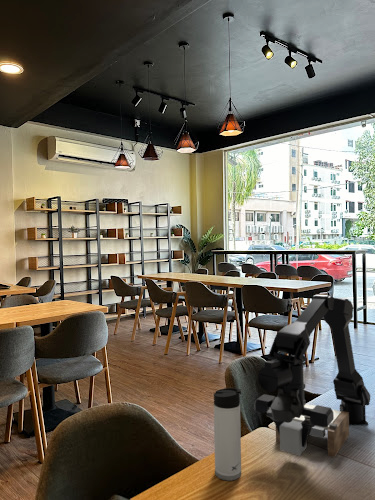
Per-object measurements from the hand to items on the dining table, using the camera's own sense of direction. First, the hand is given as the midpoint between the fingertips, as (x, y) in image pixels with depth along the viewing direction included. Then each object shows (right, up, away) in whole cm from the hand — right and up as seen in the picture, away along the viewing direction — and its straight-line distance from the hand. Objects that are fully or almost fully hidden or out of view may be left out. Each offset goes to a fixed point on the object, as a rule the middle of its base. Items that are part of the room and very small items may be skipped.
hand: (293, 443), depth 100 cm
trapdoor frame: (+9, -4, +12) cm, 16 cm away
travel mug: (-17, -5, -5) cm, 18 cm away
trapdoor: (+9, 0, +12) cm, 15 cm away
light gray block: (0, -1, 0) cm, 1 cm away
